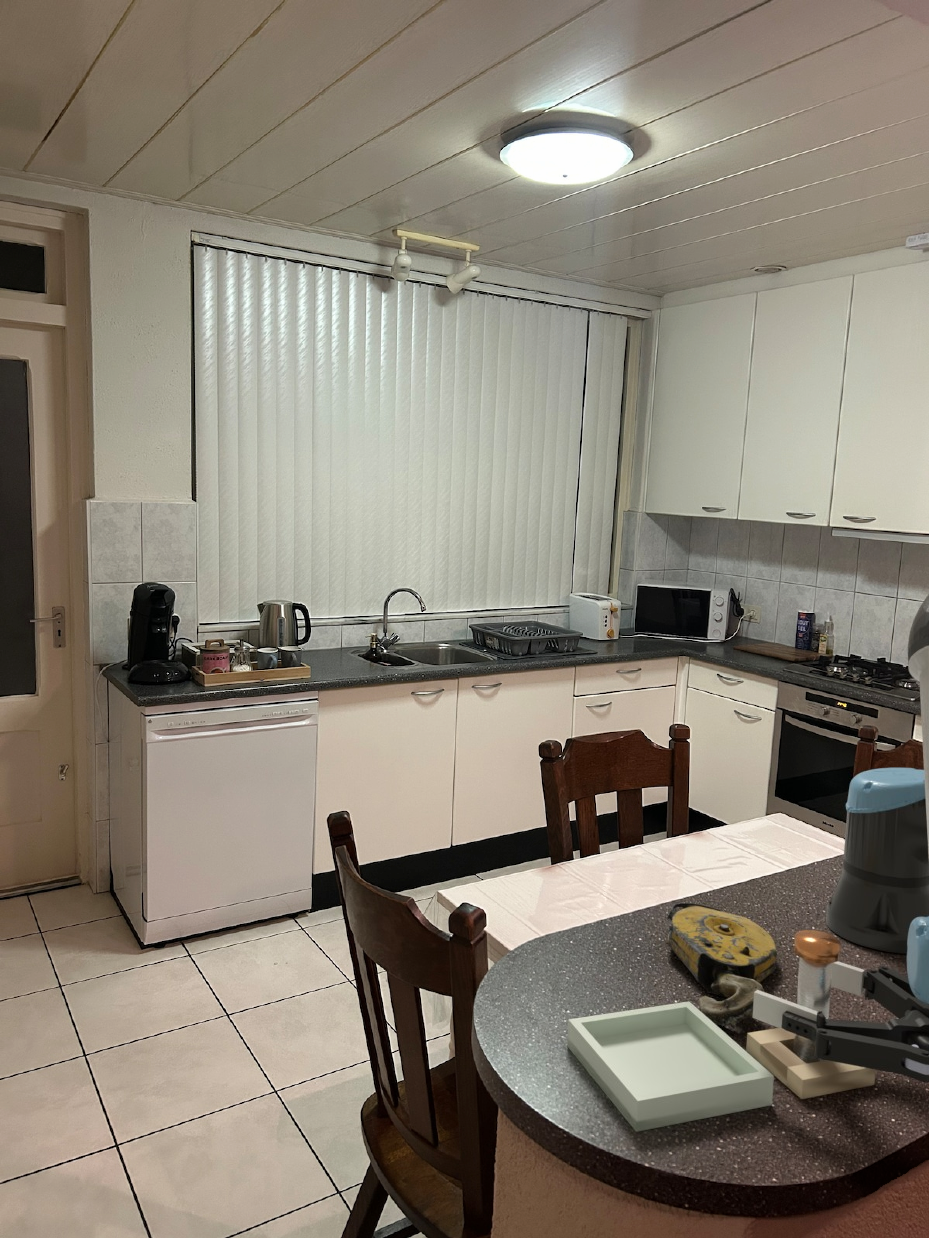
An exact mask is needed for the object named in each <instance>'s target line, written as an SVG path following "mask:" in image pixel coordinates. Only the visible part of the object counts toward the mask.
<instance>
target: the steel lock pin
mask: <svg viewBox="0 0 929 1238" xmlns="http://www.w3.org/2000/svg"><path fill="white" fill-rule="evenodd" d="M793 944H794V947H793V951H794V954H795V955H796V956H798V957H799V963H798V977H797V989H796V1004H798V1005H801V1006H804V1007H807V1008H809V1009H812V1010H815V1011H818V1012H819V1011H822V1013H823V1014H824V1016H825V1017H826V1019H830V1018H829V1017H830V1014H829V1013H830V1004H831V1003H830V1002H831V989H832V987H831V976H832V963H834V962H837V961H838V962H839V960H840V951H841V941H840V940H839V939H838V937H836V936H834V935H832V934H830V933H827V932H824V931H820V930H814V929H813V930H812V929H803V930H799V931H797V932H795V934H794V943H793ZM793 1053H794V1054H795V1055H796V1056H798V1057H799V1058H800V1059H801V1060H802V1061H804V1062H805V1063H806V1064H808V1063H813V1062H819V1061H824V1060H823V1059H819V1058H817V1057H816V1056H815V1043H814V1042H813V1041H812V1040H809V1039H807V1038H804V1037H802V1036H799V1035H796V1034H794V1047H793Z"/></svg>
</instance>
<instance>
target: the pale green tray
mask: <svg viewBox="0 0 929 1238" xmlns="http://www.w3.org/2000/svg"><path fill="white" fill-rule="evenodd" d="M567 1022H568V1023H567V1040H566V1041H567V1042H566V1047H568V1049H569V1050H570V1051H571V1053H572V1054H573V1056H574V1057H575V1058H576V1059H577V1060H578V1061H579V1063H580V1064H581V1065H582V1066H583V1068H584V1069H585V1070H586V1071H587V1073H588V1074H589V1075H590V1077H592V1079H593V1080H594V1082H595V1083H596V1084H597V1085H598V1087H600V1089H601V1090H602V1091H603V1092H604V1094H605V1095H606V1097H608V1099H609V1100H610V1102H612V1104H613V1105H614V1106H615V1107H616V1109H617V1110H618V1111H619V1113H620V1114H621V1115H622V1116H623V1118H624V1119H625V1120H626V1121H627V1123H628V1124H629V1125H630V1126H631V1128H632V1129H633V1131H635V1132H636V1133H637V1132H642V1131H648V1130H651V1129H657V1128H663V1127H667V1126H673V1125H677V1124H678V1125H679V1124H682V1123H688V1122H693V1121H698V1120H702V1119H708V1118H713V1117H718V1116H723V1115H728V1114H732V1113H733V1114H734V1113H739V1112H744V1111H748V1110H753V1109H759V1108H763V1107H768V1106H769V1107H770V1106H772V1105H773V1096H774V1095H773V1094H774V1079H775V1076H774V1075H773V1074H772V1073H771V1072H770V1071H769V1070H768V1069H767V1068H765V1067H764V1066H763V1065H762V1064H761V1063H760V1062H759V1061H757V1060H756V1059H755V1058H754V1057H753V1056H752V1055H751V1054H749V1053H748V1052H747V1051H746V1049H744V1048H743V1047H741V1045H740V1044H738V1043H737V1041H735V1040H734V1039H732V1038H731V1037H730V1036H729V1035H728V1034H727V1033H726V1032H725V1031H724V1030H722V1028H720V1027H719V1026H718V1025H717V1024H714V1023H713V1022H712V1021H711V1020H710V1019H709V1018H707V1017H706V1016H705V1015H704V1014H703V1013H702V1012H701V1009H699V1008H698V1007H696V1006H695V1005H694V1004H693V1003H691V1002H690V1001H683V1002H676V1003H670V1004H663V1005H655V1006H649V1007H643V1008H636V1009H631V1010H623V1011H615V1012H610V1013H602V1014H595V1015H589V1016H584V1017H576V1018H570V1019H569V1018H568V1021H567Z"/></svg>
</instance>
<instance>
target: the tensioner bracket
mask: <svg viewBox="0 0 929 1238" xmlns="http://www.w3.org/2000/svg"><path fill="white" fill-rule="evenodd" d="M746 1033H747V1035H746V1047H745V1051H746V1052H747V1053H748V1054H750V1055H751V1056H752V1057H753V1058H754V1059H755V1060H756V1061H758V1062H759V1063H760V1064H761V1065H762V1066H763V1067H764V1068H765V1069H767V1070H768V1071H769V1072H770V1073H771V1074H772V1075H773V1076H774V1077H776V1079H778V1080H779V1081H780V1082H781V1083H782V1084H783V1085H785V1086H786V1088H788V1089H789V1090H790V1091H792V1093H794V1094H795V1095H796V1096H798V1098H800V1100H804V1099H809V1098H815V1097H820V1096H824V1095H829V1094H835V1093H840V1092H844V1091H850V1090H854V1089H860V1088H861V1089H862V1088H865V1087H871V1086H874V1085H875V1082H876V1081H875V1080H876V1070H875V1069H870V1068H865V1067H859V1066H854V1065H849V1064H844V1063H839V1062H833V1061H828V1060H824V1061H819V1062H813V1063H808V1064H806V1063H805V1062H804V1061H802V1060H801V1059H800V1058H799V1057H798V1056H796V1055H795V1054H794V1053H793V1047H794V1033H791V1032H789V1031H786V1030H783V1029H781V1028H778V1027H776V1028H775V1027H774V1028H769V1029H764V1030H758V1031H752V1032H746Z"/></svg>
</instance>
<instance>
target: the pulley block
mask: <svg viewBox="0 0 929 1238" xmlns="http://www.w3.org/2000/svg"><path fill="white" fill-rule="evenodd" d="M677 908H682V909H680V910H677ZM668 912H669V913H668V914H667V915H668V916H667V918H666V920H669V921H671V925H670V926H669V929H668V931H669V932H668V933H667V936H666V939H667V942H666V941H665V942H664V943H665V944H666V945H668V947H670V949H671V950H672V951H673V952H674V953H675V954H676V956H677V957H678V960H680V961H682V962H683V964H684V965H685V966H686V968H687V969H688V971H689V972H690V973H691V974H692V975H693V976H694V978H695V980H696V981H697V982H698V983H699V984H700V986H702V987H703V988H704V990H706V992H707V993H708V994H713V995H716V996H720V997H724V998H726V999H724V1000H722V1001H721V1000H720V1001H717V999H715V998H712V997H709V996H707V995H704V996H701V997H699V999H698V1001H697V1004H698V1006H699V1008H700V1011H701V1012H702V1013H703V1014H704V1015H705V1016H706V1017H707V1018H709V1019H710V1020H711V1021H712V1022H713V1023H714V1024H715V1025H717V1026H718V1025H719V1026H722V1027H723V1026H729V1025H730V1028H732V1029H735V1028H736V1025H737V1023H739V1022H742V1021H743V1020H745V1019H746V1018H749V1017H751V1016H753V1003H754V992H755V991H756V990H760V991H762V992H765V989H764V988H763V985H762V984H761V983H762V982H763V981H764V980H765V979H766V978H768V977H769V976H770V975H771V974H772V973H774V972H775V970H776V969H777V965H775V963H776V961H777V956H778V952H777V948H776V944H775V943H776V942H775V941H774V938H773V937H772V936H771V935H770V934H769V933H768V931H766V930H765V929H764V928H762V927H761V926H760V925H759V924H757V923H755V922H754V921H753V920H751V919H749V918H747V917H745V916H741V915H738V914H733V913H729V912H725V911H722V910H721V909H719V908H716V907H714V906H713V907H712V906H707V905H704V904H701V903H691V902H690V903H689V902H680V903H676V902H674V903H673V904H672V906H671V909H670V910H669V911H668ZM765 993H766V992H765Z"/></svg>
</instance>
